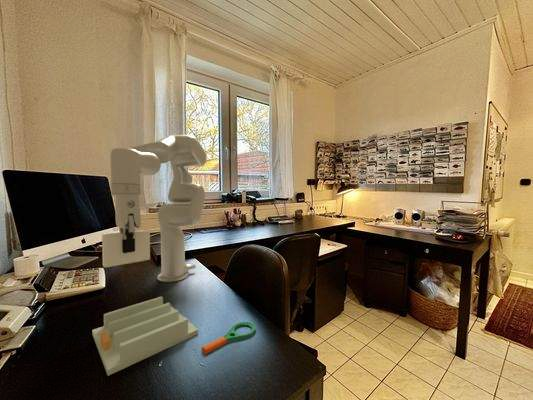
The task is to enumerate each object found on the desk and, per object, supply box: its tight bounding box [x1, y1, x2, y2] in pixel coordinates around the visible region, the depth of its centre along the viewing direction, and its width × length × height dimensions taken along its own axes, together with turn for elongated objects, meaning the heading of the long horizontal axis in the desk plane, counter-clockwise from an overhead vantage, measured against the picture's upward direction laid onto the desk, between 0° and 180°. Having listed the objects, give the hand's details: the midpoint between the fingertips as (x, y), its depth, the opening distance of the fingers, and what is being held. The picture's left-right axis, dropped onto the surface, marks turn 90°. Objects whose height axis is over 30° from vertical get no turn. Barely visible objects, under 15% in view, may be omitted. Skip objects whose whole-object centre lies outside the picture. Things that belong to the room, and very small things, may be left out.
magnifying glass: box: [201, 321, 256, 355], centre depth 60 cm, size 15×6×2 cm, turn 135°
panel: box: [101, 229, 151, 268], centre depth 71 cm, size 12×3×9 cm, turn 133°
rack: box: [91, 295, 199, 377], centre depth 61 cm, size 20×19×5 cm
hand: (127, 250), depth 71 cm, fingers closed on panel, 2 cm apart
